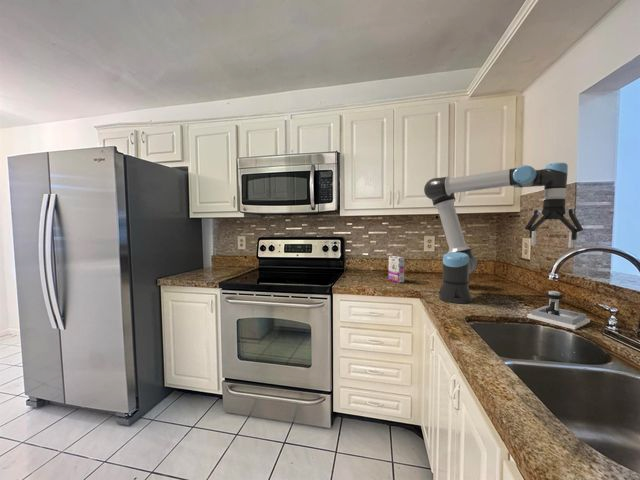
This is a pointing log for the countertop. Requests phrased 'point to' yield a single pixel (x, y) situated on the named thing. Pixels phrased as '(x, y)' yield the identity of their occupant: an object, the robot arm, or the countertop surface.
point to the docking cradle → (560, 318)
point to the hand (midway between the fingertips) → (551, 246)
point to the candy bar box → (396, 269)
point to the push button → (553, 302)
